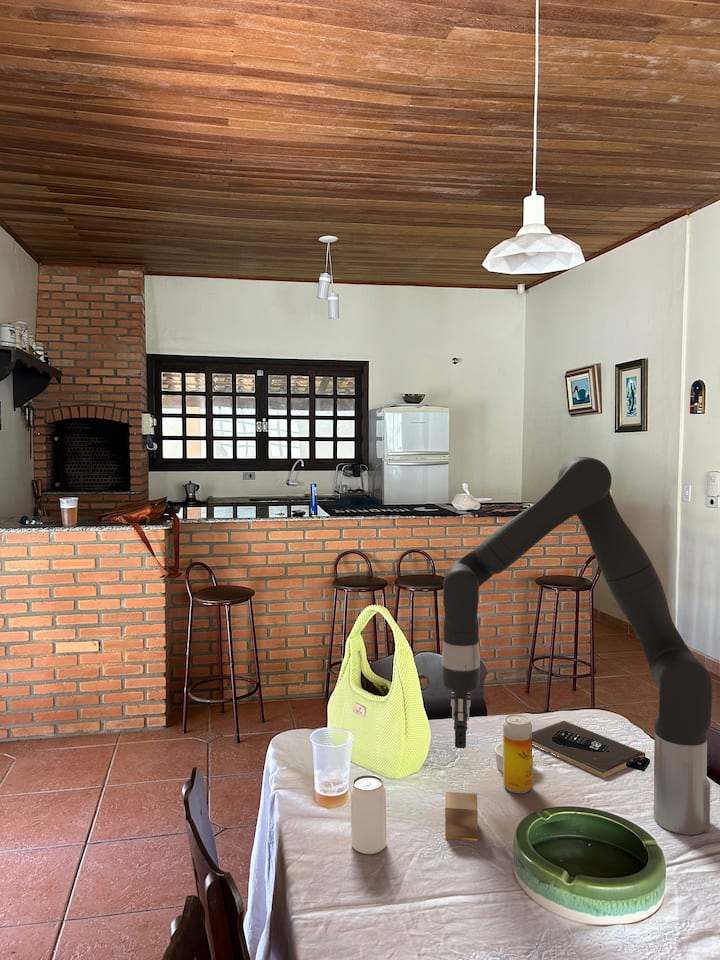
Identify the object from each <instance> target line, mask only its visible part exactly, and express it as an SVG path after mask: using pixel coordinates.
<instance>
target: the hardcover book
mask: <svg viewBox="0 0 720 960" xmlns="http://www.w3.org/2000/svg"><path fill="white" fill-rule="evenodd" d="M562 730H563V731H568V732H571V733H574V734H577V735H579V736H583V737H586V738H589V739H593V740H594V741H596V742H599V743H601V744H603V745H609V746H608V748H607V747H606V746H605V749H607V751H609V752H593V751H588V750H583V749H582V750H581V749H578V748H573V747H567V746H563V745H559V744H556V743H555V742H553V741H552V737H553V736H554V735H555V734H556V733H557V732H558V731H562ZM599 743H598V744H599ZM532 744H534V745H536V746H538V747H540V748H542V749H544V750H546V751H548V752H550V753H553V754H555V755H556V756H559V757H560V758H559V757H558V758H559V759H561V758H562V759H561V760H563V759H564V760H563V761H565V760H566V762H567V763H570V764H571V765H574V766H577V767H579V768H580V769H583V770H585V771H587V772H589V773H592V774H593V775H595V776H598V777H600V778H603V779H604V778H607V777H609V776H611V775H613V774H615V773H618V772H619V771H621V770H624V769H626V768H627V767H626V763H627V762H628V761H630V760H632V759H634V758H637V757H645V758H646V756H647V755H646V753H645V751H641V750H639V749H636V748H634V747H631V746H629V745H626V744H623V743H621V742H619V741H616V740H613V739H611V738H609V737H606V736H604V735H601V734H598V733H596V732H593V731H592V730H588V729H586V728H584V727H581V726H579V725H576V724H574V723H571V722H568V721H566V720H561V721H559V722H557V723H554V724H551V725H549V726H546V727H543V728H540V729H537V730H535V731H532ZM612 748H613V749H612ZM548 752H547V753H548ZM550 753H549V754H550ZM556 756H555V757H556Z"/></svg>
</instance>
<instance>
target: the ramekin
mask: <svg viewBox="0 0 720 960" xmlns="http://www.w3.org/2000/svg"><path fill="white" fill-rule="evenodd" d="M494 753H495V761H496V762H495V763H496V767H497V769H498V770H499V771H500V772H501V773H503V742H500V743H498V744H496V745H495V747H494ZM534 756H535V750H534V748H532V767H533V764H534Z"/></svg>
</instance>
